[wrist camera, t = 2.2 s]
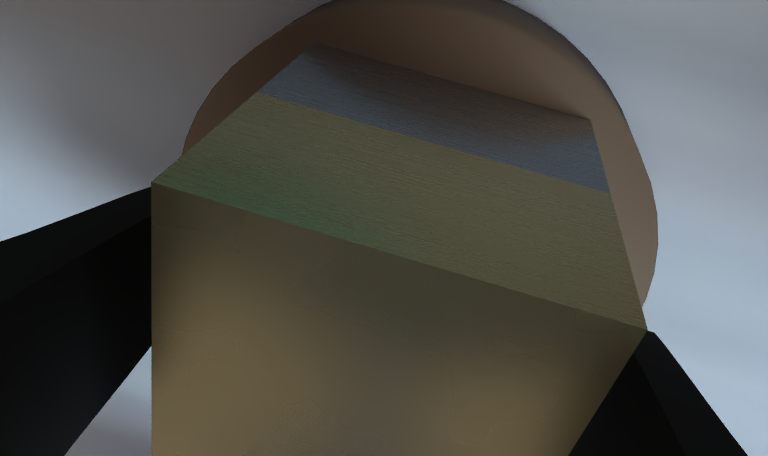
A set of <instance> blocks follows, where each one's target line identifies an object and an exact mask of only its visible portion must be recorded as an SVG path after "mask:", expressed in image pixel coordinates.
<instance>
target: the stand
mask: <svg viewBox="0 0 768 456" xmlns="http://www.w3.org/2000/svg"><path fill="white" fill-rule="evenodd" d="M315 42H316V43H320V44H323V45H327V46H330V47H334V48H338V49H341V50H345V51H348V52H352V53H355V54H359V55H363V56H366V57H370V58H373V59H377V60H380V61H384V62H387V63H391V64H395V65H398V66H402V67H405V68H409V69H412V70H416V71H419V72H423V73H427V74H430V75H434V76H437V77H441V78H444V79H448V80H451V81H455V82H459V83H462V84H466V85H469V86H473V87H476V88H480V89H483V90H487V91H491V92H494V93H498V94H501V95H505V96H508V97H512V98H515V99H519V100H523V101H526V102H530V103H533V104H537V105H540V106H544V107H547V108H551V109H555V110H558V111H562V112H565V113H569V114H572V115H576V116H579V117H583V118H587V119H590V120H591V123H592V127H593V130H594V134H595V138H596V141H597V145H598V149H599V152H600V156H601V160H602V163H603V167H604V171H605V174H606V178H607V182H608V186H609V189H610V193H611V197H612V200H613V204H614V208H615V211H616V215H617V219H618V222H619V226H620V230H621V233H622V237H623V241H624V245H625V248H626V252H627V256H628V259H629V263H630V267H631V270H632V274H633V278H634V281H635V285H636V289H637V292H638V296H639V300H640V303H641V307H642V306H643V304H644V302H645V300H646V297H647V294H648V291H649V288H650V284H651V281H652V278H653V275H654V270H655V263H656V256H657V248H658V225H657V211H656V206H655V201H654V196H653V191H652V186H651V182H650V179H649V177H648V174H647V171H646V169H645V166H644V163H643V161H642V158H641V155H640V153H639V150H638V148H637V145H636V143H635V141H634V138H633V136H632V133H631V131H630V128H629V126H628V124H627V121H626V119H625V116H624V114H623V111H622V109H621V107H620V105H619V104H618V102H617V100H616V98H615V97H614V95H613V93H612V91H611V90H610V88H609V86H608V84H607V83H606V81H605V80H604V79H603V78H602V76H601V75H600V74H599V72H598V71H597V70H596V69H595V67H594V66H593V65H592V64H591V62H590V61H589V60H588V59H587V58H586V57H585V56H584V55H583V54H582V53H581V52H580V51H579V50H578V49H577V48H576V47H575V46H574V45H573V44H572V43H571V42H569V41H568V40H567V39H566V38H565V37H564V36H563V35H561V34H560V33H558V32H557V31H556V30H554V29H553V28H551V27H550V26H548V25H547V24H546V23H544V22H543V21H541V20H540V19H539V18H537V17H535V16H533V15H531V14H529V13H527V12H525V11H523V10H521V9H519V8H517V7H515V6H513V5H511V4H509V3H507V2H504V1H501V0H333V1H331V2H328V3H326V4H323V5H321V6H319V7H317V8H316V9H314V10H312V11H310V12H309V13H307V14H305V15H304V16H302V17H300V18H298V19H297V20H295V21H294V22H292V23H291V24H289V25H288V26H286V27H285V28H283V29H282V30H280V31H279V32H277V33H276V34H275V35H273V36H272V37H270V38H269V39H267V40H266V41H264V42H263V43H261V44H260V45H258V46H257V47H256V48H254V49H253V50H252V51H251V52H249V53H248V54H247V55H246V56H245V57H243V58H242V59H241V60H240V61H238V62H237V63H236V64H235V65H233V66H232V67H231V68H230V70H229V71H228V72H227V73H226V74H225V75H224V76H223V77H222V79H221V80H220V81H219V82H218V83H217V84H216V85H215V86H214V88H213V89H212V90H211V92H210V93H209V95H208V96H207V98H206V100H205V101H204V103H203V104H202V106H201V107H200V109H199V111H198V112H197V114H196V116H195V119H194V121H193V123H192V126H191V128H190V130H189V133H188V135H187V137H186V141H185V145H184V149H183V153H182V156H183V155H184V154H185V153H186V152H187V151H188V150H190V149H191V148H192V147H193V146H194V145H195V144H197V143H198V142H199V141H200V140H201V139H202V138H204V137H205V136H206V135H207V134H208V133H209V132H211V131H212V130H213V129H214V128H215V127H216V126H218V125H219V124H220V123H221V122H222V121H223V120H225V119H226V118H227V117H228V116H229V115H230V114H232V113H233V112H234V111H235V110H236V109H237V108H239V107H240V106H241V105H242V104H243V103H244V102H246V101H247V100H248V99H249V98H250V97H251V96H253V95H254V94H255V93H256V92H257V91H258V90H260V89H261V88H262V87H263V86H264V85H265V84H267V83H268V82H269V81H270V80H271V79H273V78H274V77H275V76H276V75H277V74H278V73H280V72H281V71H282V70H283V69H284V68H285V67H287V66H288V65H289V64H290V63H291V62H292V61H294V60H295V59H296V58H297V57H298V56H299V55H301V54H302V53H303V52H304V51H305V50H306V49H308V48H309V47H310V46H311V45H312V44H313V43H315Z"/></svg>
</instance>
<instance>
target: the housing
mask: <svg viewBox="0 0 768 456" xmlns="http://www.w3.org/2000/svg"><path fill="white" fill-rule="evenodd" d="M151 303H152V456H568V455H569V454H570V452H571V450H572V449H573V447H574V446H575V444H576V443H577V441H578V439H579V438H580V436H581V435H582V433H583V431H584V430H585V428H586V427H587V425H588V424H589V422H590V420H591V419H592V417H593V416H594V414H595V412H596V411H597V409H598V408H599V406H600V405H601V403H602V401H603V400H604V398H605V397H606V395H607V393H608V392H609V390H610V389H611V387H612V386H613V384H614V382H615V381H616V379H617V378H618V376H619V374H620V373H621V371H622V370H623V368H624V367H625V365H626V363H627V362H628V360H629V359H630V357H631V355H632V354H633V352H634V351H635V349H636V348H637V346H638V344H639V343H640V341H641V340H642V338H643V336H644V335H645V333H646V332H647V330H648V329H647V326H646V322H645V318H644V315H643V311H642V307H641V303H640V300H639V296H638V292H637V289H636V285H635V281H634V278H633V274H632V270H631V267H630V263H629V259H628V256H627V252H626V248H625V245H624V241H623V237H622V233H621V230H620V226H619V222H618V219H617V215H616V211H615V208H614V204H613V200H612V197H611V193H610V189H609V186H608V182H607V178H606V174H605V171H604V167H603V163H602V160H601V156H600V152H599V149H598V145H597V141H596V138H595V134H594V130H593V127H592V123H591V120H590V119H587V118H583V117H579V116H576V115H572V114H569V113H565V112H562V111H558V110H555V109H551V108H547V107H544V106H540V105H537V104H533V103H530V102H526V101H523V100H519V99H515V98H512V97H508V96H505V95H501V94H498V93H494V92H491V91H487V90H483V89H480V88H476V87H473V86H469V85H466V84H462V83H459V82H455V81H451V80H448V79H444V78H441V77H437V76H434V75H430V74H427V73H423V72H419V71H416V70H412V69H409V68H405V67H402V66H398V65H395V64H391V63H387V62H384V61H380V60H377V59H373V58H370V57H366V56H363V55H359V54H355V53H352V52H348V51H345V50H341V49H338V48H334V47H330V46H327V45H323V44H320V43H316V42H315V43H313V44H312V45H311V46H310V47H309V48H308V49H306V50H305V51H304V52H303V53H302V54H301V55H299V56H298V57H297V58H296V59H295V60H294V61H292V62H291V63H290V64H289V65H288V66H287V67H285V68H284V69H283V70H282V71H281V72H280V73H278V74H277V75H276V76H275V77H274V78H273V79H271V80H270V81H269V82H268V83H267V84H265V85H264V86H263V87H262V88H261V89H260V90H258V91H257V92H256V93H255V94H254V95H253V96H251V97H250V98H249V99H248V100H247V101H246V102H244V103H243V104H242V105H241V106H240V107H239V108H237V109H236V110H235V111H234V112H233V113H232V114H230V115H229V116H228V117H227V118H226V119H225V120H223V121H222V122H221V123H220V124H219V125H218V126H216V127H215V128H214V129H213V130H212V131H211V132H209V133H208V134H207V135H206V136H205V137H204V138H202V139H201V140H200V141H199V142H198V143H197V144H195V145H194V146H193V147H192V148H191V149H190V150H188V151H187V152H186V153H185V154H184V155H183V156H181V157H180V158H179V159H178V160H177V161H176V162H174V163H173V164H172V165H171V166H170V167H168V168H167V169H166V170H165V171H164V172H163V173H161V174H160V175H159V176H158V177H157V178H156V179H154V180H153V181H152V182H151Z"/></svg>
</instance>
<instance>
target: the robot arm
mask: <svg viewBox="0 0 768 456" xmlns="http://www.w3.org/2000/svg"><path fill="white" fill-rule="evenodd" d="M151 345H152V303H151V187H150V188H146V189H143V190H140V191H137V192H134V193H131V194H129V195H126V196H123V197H120V198H118V199H115V200H112V201H110V202H107V203H105V204H102V205H99V206H97V207H94V208H92V209H89V210H86V211H84V212H81V213H78V214H76V215H73V216H70V217H68V218H65V219H62V220H60V221H57V222H54V223H52V224H49V225H46V226H44V227H41V228H38V229H36V230H33V231H30V232H28V233H25V234H22V235H19V236H16V237H13V238H10V239H7V240H4V241H1V242H0V456H64V455H65V454H66V453H67V451H68V450H69V449H70V447H71V446H72V445H73V444H74V442H75V441H76V440H77V439H78V437H79V436H80V435H81V434H82V432H83V431H84V430H85V429H86V427H87V426H88V425H89V424H90V422H91V421H92V420H93V419H94V417H95V416H96V415H97V414H98V412H99V411H100V410H101V409H102V407H103V406H104V405H105V404H106V402H107V401H108V400H109V399H110V397H111V396H112V395H113V394H114V392H115V391H116V390H117V389H118V387H119V386H120V385H121V384H122V382H123V381H124V380H125V379H126V377H127V376H128V375H129V374H130V372H131V371H132V370H133V368H134V367H135V366H136V365H137V363H138V362H139V361H140V360H141V358H142V357H143V356H144V354H145V353H146V352H147V351H148V349H149V348H150V347H151ZM568 456H748V455H747V454H746V453H745V451H744V450H743V449H742V448H741V446H740V445H739V444H738V442H737V441H736V440H735V439H734V437H733V436H732V435H731V433H730V432H729V431H728V429H727V428H726V427H725V425H724V424H723V423H722V421H721V420H720V419H719V417H718V416H717V415H716V413H715V412H714V411H713V409H712V408H711V407H710V405H709V404H708V403H707V401H706V400H705V399H704V397H703V396H702V394H701V393H700V392H699V390H698V389H697V388H696V386H695V385H694V384H693V382H692V381H691V380H690V378H689V377H688V375H687V374H686V373H685V371H684V370H683V369H682V367H681V366H680V365H679V363H678V362H677V361H676V359H675V358H674V357H673V355H672V354H671V353H670V351H669V350H668V349H667V347H666V346H665V345H664V344H663V342H662V341H661V340H660V339H659V338H658V336H657V335H656V334H655V333H654V332H650V331H647V332H646V333H645V335H644V336H643V338H642V340H641V341H640V343H639V344H638V346H637V348H636V349H635V351H634V352H633V354H632V355H631V357H630V359H629V360H628V362H627V363H626V365H625V367H624V368H623V370H622V371H621V373H620V374H619V376H618V378H617V379H616V381H615V382H614V384H613V386H612V387H611V389H610V390H609V392H608V393H607V395H606V397H605V398H604V400H603V401H602V403H601V405H600V406H599V408H598V409H597V411H596V412H595V414H594V416H593V417H592V419H591V420H590V422H589V424H588V425H587V427H586V428H585V430H584V431H583V433H582V435H581V436H580V438H579V439H578V441H577V443H576V444H575V446H574V447H573V449H572V450H571V452H570V454H569V455H568Z"/></svg>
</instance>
